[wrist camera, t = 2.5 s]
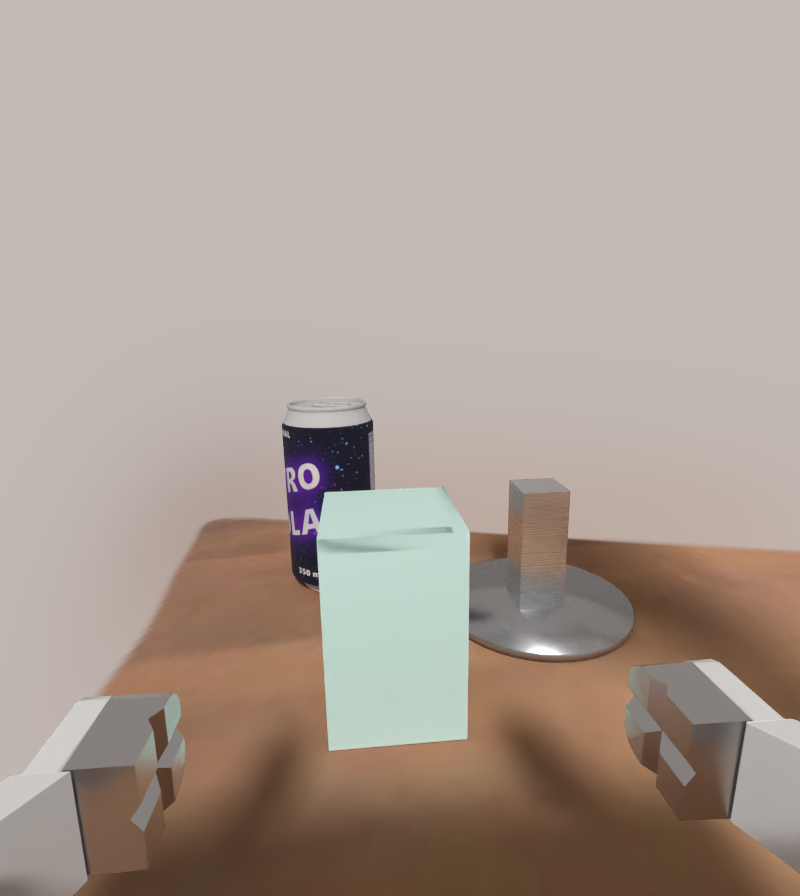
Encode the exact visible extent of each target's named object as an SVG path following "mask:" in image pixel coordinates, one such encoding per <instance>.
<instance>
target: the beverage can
mask: <svg viewBox="0 0 800 896" xmlns="http://www.w3.org/2000/svg"><path fill="white" fill-rule="evenodd" d="M365 405H366V401H365V400H363V399H358V398H347V397H329V398H327V397H326V398H311V399H303V400H297V401H292V402H290V403H288V404H287V408H288V412H287V415H286V417H285V419H284V421H283V424H282V432H283V446H284V460H285V474H286V488H287V502H288V515H289V530H290V544H291V558H292V571H293V574H294V576H295V577H296V578H298V579H299V580H300V581H302V582H304V583H305V584H306V586H307V587H309V588H310V589H312V590H314V591H317V592H320V591H319V574H318V557H317V534H318V528H319V523H320V517H321V511H322V506H323V500H324V494H325V492H341V491H363V490H375V475H374V444H373V443H374V442H373V421H372V419H371V417H370V415H369V413H368V411H367V409H366V407H365Z"/></svg>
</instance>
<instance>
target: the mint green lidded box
mask: <svg viewBox="0 0 800 896" xmlns="http://www.w3.org/2000/svg"><path fill="white" fill-rule="evenodd" d="M317 557H318V574H319V591H320V608H321V625H322V642H323V659H324V677H325V694H326V711H327V728H328V745H329V751H332V750H344V749H356V748H368V747H379V746H391V745H403V744H414V743H426V742H438V741H449V740H461V739H467V724H468V646H469V568H470V531H469V529H468V528H467V526H466V524H465V522H464V521H463V519H462V517H461V516H460V514H459V512H458V510H457V509H456V507H455V505H454V504H453V502H452V500H451V498H450V497H449V495H448V493H447V491H446V490H445V488H444V487H432V488H410V489H386V490H363V491H341V492H325V494H324V500H323V506H322V511H321V517H320V523H319V528H318V534H317Z"/></svg>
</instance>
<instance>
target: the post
mask: <svg viewBox="0 0 800 896" xmlns="http://www.w3.org/2000/svg"><path fill="white" fill-rule="evenodd" d="M569 501H570V491H569V490H567V489H566V488H565V487H563V486H562V485H561V484H559V483H558V482H557V481H555V480H554V479H553V478H550V479H549V478H548V479H525V480H510V487H509V521H508V551H507V558H502V559H493V560H487V561H483V562H479V563H475V564H472V565H470V568H469V639H470V640H472V641H473V642H475V643H477V644H479V645H481V646H483V647H485V648H488V649H490V650H493V651H496V652H498V653H502V654H505V655H509V656H512V657H517V658H521V659H526V660H533V661H541V662H575V661H583V660H588V659H593V658H597V657H600V656H603V655H606V654H608V653H610V652H612V651H614V650H616V649H618V648H619V647H620V646H622V645H623V644H624V643H625V642H626V641H627V640H628V639H629V637H630V635H631V633H632V630H633V625H634V610H633V608H632V605H631V603H630V601H629V600H628V598H627V597H626V596H625V595H624V594H623V593H622V591H620V590H619V589H618V588H617V587H616V586H614V585H613V584H611V583H610V582H608V581H607V580H605V579H603V578H602V577H600V576H598V575H596V574H593V573H591V572H589V571H586V570H584V569H581V568H578V567H575V566H572V565H568V564H566V555H567V538H568V520H569V503H570V502H569Z"/></svg>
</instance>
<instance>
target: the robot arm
mask: <svg viewBox="0 0 800 896" xmlns="http://www.w3.org/2000/svg"><path fill="white" fill-rule="evenodd" d="M628 686H629V688H630V689H631V691H632V692H633V694H634V695H635V696H634V697H633V698H632V699H631V700H630V702H629V703H628V704H627V705H626V707H625V728H626V733H627V738H628V741H629V743H630V746H631V748H632V750H633V752H634V754H635V756H636V757H637V759H638V760H639V762H640V763H641V764H642V765H643V766H645V767H646V768H648V769H649V770H651V771H653V772H654V773H656V774H657V780H656V787H657V788H658V790H659V791H660V793H661V794H662V796H663V797H664V799H665V800H666V802H667V803H668V805H669V806H670V808H671V809H672V810H673V812H674V813H675V815H676V816H677V818H678V819H679V821H694V820H712V819H730V818H731V820H730V821H731V822H732V823H733V824H735V825H736V826H737V827H739V828H740V829H741V830H743V831H744V832H745V833H747V834H748V835H749V836H751V837H752V838H753V839H755V840H756V841H757V842H759V843H760V844H761V845H763V846H764V847H765V848H767V849H768V850H769V851H771V852H772V853H773V854H775V855H776V856H777V857H779V858H780V859H781V860H783V861H784V862H785V863H786V864H788V865H789V866H790V867H792V868H793V869H794V870H796V871H797V872H798V873H800V722H799V721H797V720H795V719H784V718H782V717H781V716H780V715H779V714H778V713H777V712H776V711H775V710H773V709H772V708H771V707H770V706H769V705H768V704H767V703H765V702H764V701H763V700H762V699H761V698H760V697H759V696H757V695H756V694H755V693H754V692H753V691H752V690H751V689H750V688H748V687H747V686H746V685H745V684H744V683H743V682H742V681H740V680H739V679H738V678H737V677H736V676H735V675H734V674H732V673H731V672H730V671H729V670H728V669H727V668H726V667H725V666H723V665H722V664H721V663H720V662H718V661H715V660H713V659H702V660H692V661H685V662H679V663H664V664H650V665H635V666H633V667H632V669H631V671H630V673H629V679H628ZM180 716H181V708H180V701H179V697H178V696H177V695H176V694H175V693H168V694H142V695H116V696H100V697H85V698H83V699H81V700H79V701H77V703H76V704H75V705H74V706H73V708H72V709H71V710H70V712H69V713H68V714H67V715H66V717H65V718H64V719H63V721H62V722H61V723H60V725H59V726H58V727H57V729H56V730H55V731H54V733H53V734H52V735H51V737H50V738H49V739H48V740H47V742H46V743H45V744H44V746H43V747H42V748H41V750H40V751H39V752H38V754H37V755H36V756H35V757H34V759H33V760H32V761H31V763H30V764H29V766H28V767H27V768H26V769H25V771H24V772H23V773H22V774H21V775H13V776H9V777H8V778H6V779H5V780H3V781H2V782H0V896H73V895H74V894H75V893H76V892H77V891H78V890H79V889H80V888H81V887H82V886H83V885H84V884H85V883H86V881H87V880H88V877H87V876H95V875H103V874H111V873H120V872H128V871H136V870H144V869H149V867H150V864H151V861H152V859H153V856H154V854H155V851H156V849H157V846H158V843H159V841H160V838H161V836H162V833H163V831H164V828H165V823H164V814H163V811H164V810H165V809H167V808H168V807H169V806H170V805H171V804H172V803H173V802H174V801H175V799H176V796H177V794H178V791H179V788H180V785H181V781H182V776H183V770H184V765H185V744H184V737H183V736H182V735H181V734H180V733H179V732H178V731H177V730H176V726H177V723H178V721H179V719H180Z"/></svg>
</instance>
